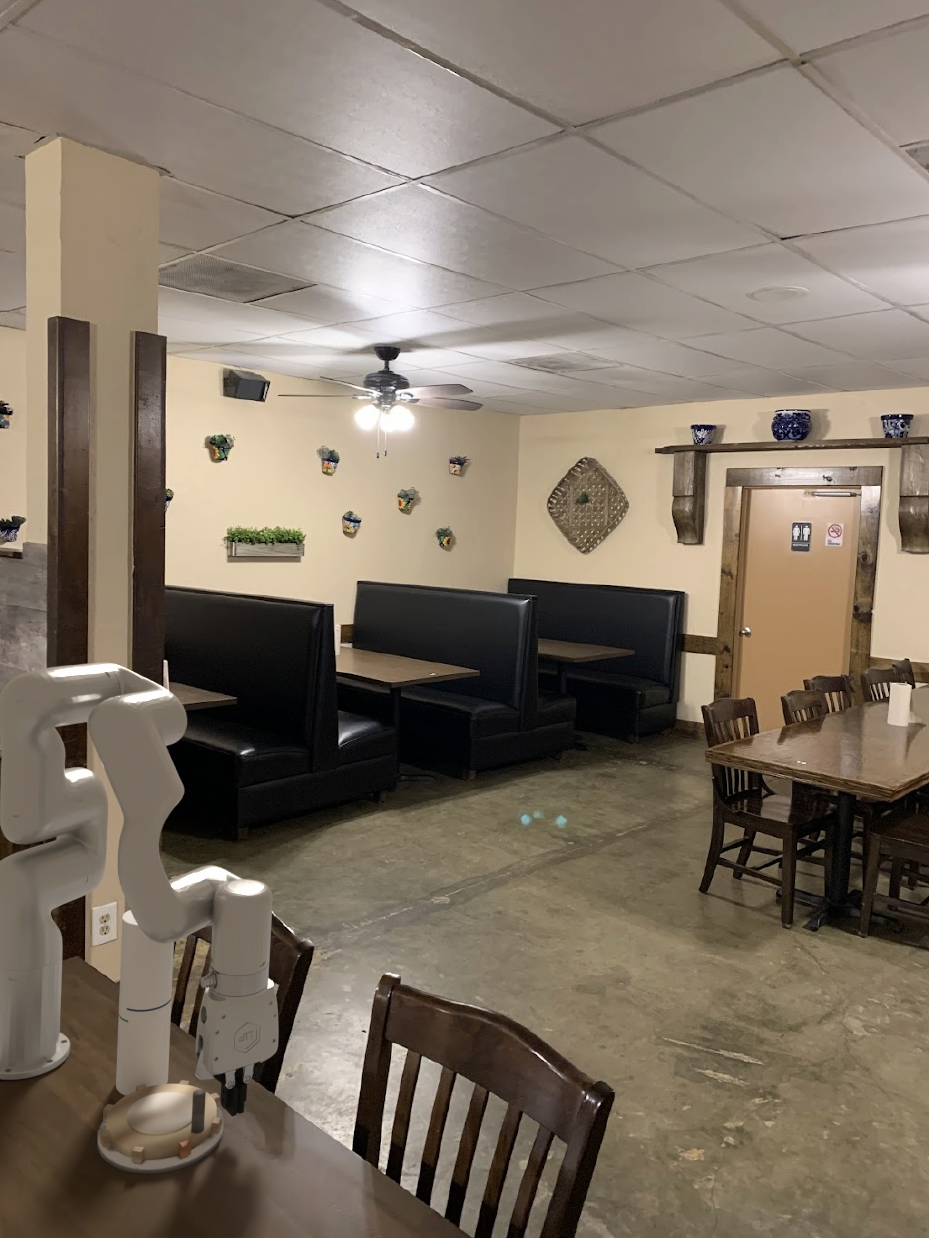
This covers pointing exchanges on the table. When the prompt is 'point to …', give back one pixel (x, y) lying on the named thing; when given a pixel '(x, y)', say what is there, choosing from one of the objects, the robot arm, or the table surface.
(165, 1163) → the dial base
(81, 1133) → the table surface
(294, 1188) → the table surface
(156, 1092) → the dial
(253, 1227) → the table surface
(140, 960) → the cylindrical container
